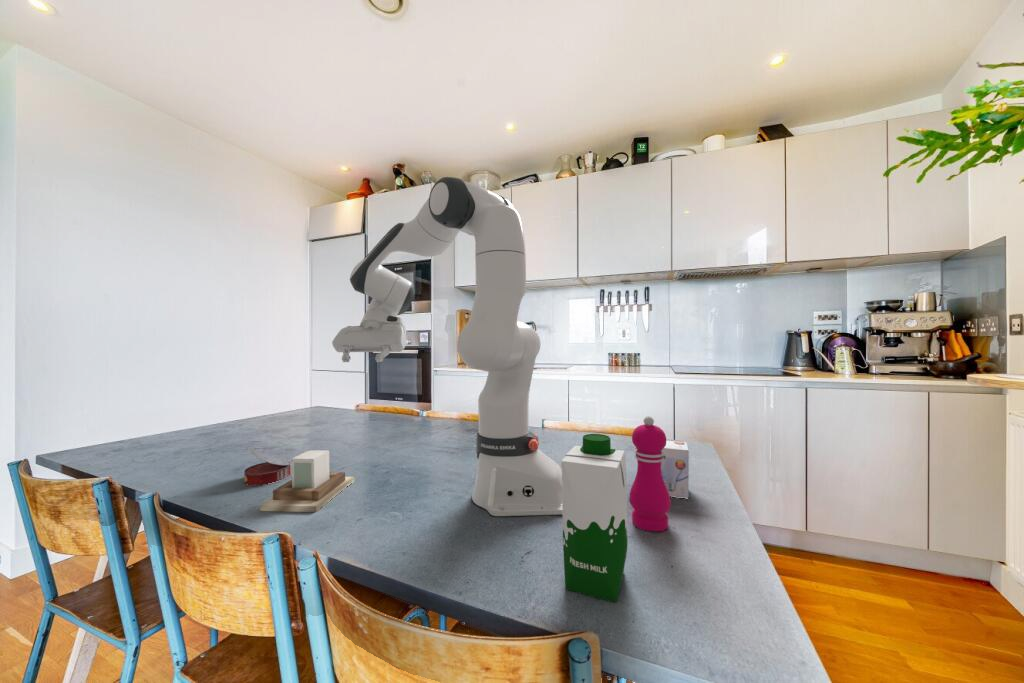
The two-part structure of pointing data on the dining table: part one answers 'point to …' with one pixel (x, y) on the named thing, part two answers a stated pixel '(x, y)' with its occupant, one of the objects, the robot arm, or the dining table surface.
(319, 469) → the picture block
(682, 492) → the light bulb box
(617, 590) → the milk carton
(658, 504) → the pepper mill
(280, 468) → the canned food
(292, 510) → the display base
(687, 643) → the dining table surface
